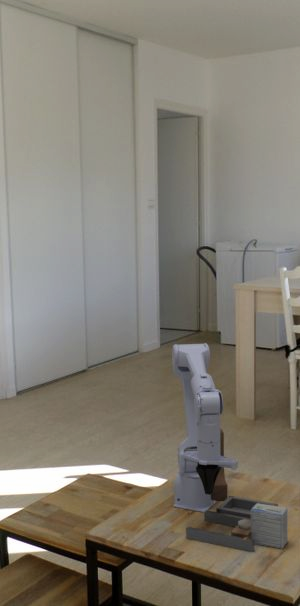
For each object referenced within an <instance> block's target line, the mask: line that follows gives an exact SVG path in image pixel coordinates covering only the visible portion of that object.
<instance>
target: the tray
mask: <svg viewBox="0 0 300 606" xmlns="http://www.w3.org/2000/svg"><path fill="white" fill-rule="evenodd" d="M257 503H259V504H266V505H272V506H278V507H279V503H274V502H268V501H264V500H263V501H262V500H257V499H251V498H245V497H240V496H239V497H238V496H235V495H228V496H227V499H226V500H223V501H222V502H221V503H220V504H219V505H218V506H217V507H216V509H215V510H216V511H215V512H219V513H225V514H230V515H235V516H241V517H246V518H251V509H252V508H253V507H254V506H255V505H256V504H257Z"/></svg>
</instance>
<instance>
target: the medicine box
mask: <svg viewBox="0 0 300 606" xmlns="http://www.w3.org/2000/svg"><path fill="white" fill-rule="evenodd" d="M288 526H289V525H288V508H287V507H284V506H279V505H278V506H272V505H266V504H259V503H257V504H256V505H255V506H254V507H253V508H252V509H251V539H253V540H254V545H259V546H266V547H272V548H277V549H282V550H283V549H284V548H285V546H286V544H287V543H288V541H289V540H288V538H289V537H288V535H289V533H288V532H289V531H288Z"/></svg>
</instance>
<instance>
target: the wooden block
mask: <svg viewBox="0 0 300 606" xmlns="http://www.w3.org/2000/svg"><path fill="white" fill-rule="evenodd" d="M224 433H225V432H224V431H223V429H222V428H221V427H220V455H221V456H224V457H225V434H224ZM227 498H228V483H227V481H226V475H225V467H222V468H221V469H220V471H219V473H218V476H217V478H216V481H215V485H214V489H213V493H212V494H211V500H215V501H225V500H226V499H227Z"/></svg>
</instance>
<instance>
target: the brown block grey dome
mask: <svg viewBox="0 0 300 606" xmlns="http://www.w3.org/2000/svg"><path fill="white" fill-rule="evenodd" d="M230 533H231V534H230V535H233V536H238V537H243V538H245V537H248V539H251V519H245V518H244V519H243V520H240V521H238V525H237V526H236V527H234V528H233V529H232V530H231V532H230Z"/></svg>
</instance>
